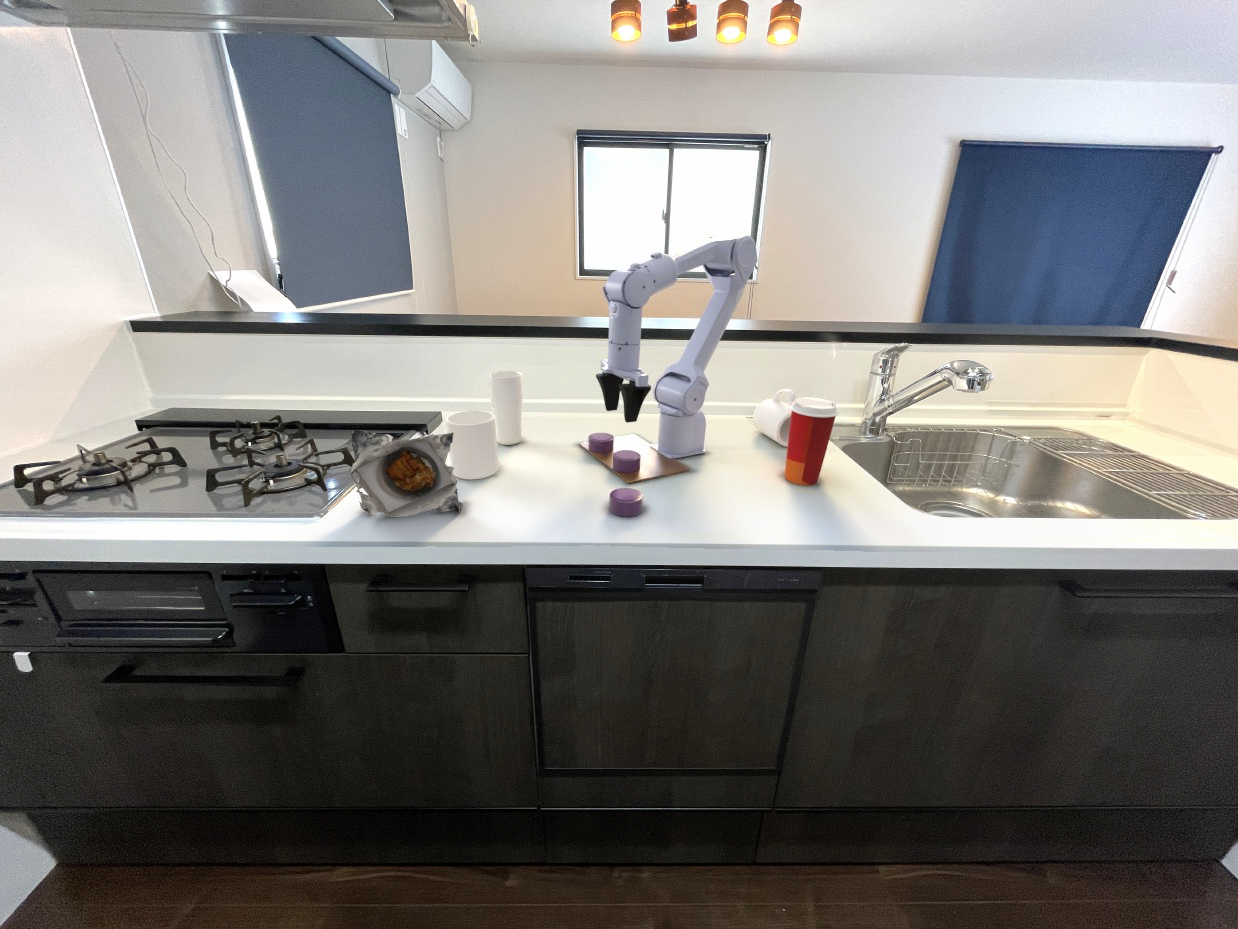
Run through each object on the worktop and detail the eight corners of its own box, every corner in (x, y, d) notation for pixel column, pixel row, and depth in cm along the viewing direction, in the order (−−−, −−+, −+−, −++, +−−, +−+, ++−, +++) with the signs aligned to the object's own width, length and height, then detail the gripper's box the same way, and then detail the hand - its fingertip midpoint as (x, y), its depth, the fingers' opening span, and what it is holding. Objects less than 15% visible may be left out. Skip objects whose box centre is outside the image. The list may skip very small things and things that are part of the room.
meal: (463, 502, 82) (455, 427, 76) (459, 515, 78) (450, 437, 73) (368, 506, 80) (352, 429, 74) (358, 519, 76) (342, 439, 71)
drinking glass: (518, 448, 104) (514, 378, 98) (488, 445, 105) (482, 376, 100) (529, 437, 110) (526, 371, 104) (501, 434, 112) (496, 369, 106)
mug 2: (780, 430, 119) (788, 382, 115) (806, 445, 110) (816, 393, 105) (750, 433, 117) (757, 383, 112) (774, 448, 108) (782, 395, 103)
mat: (634, 435, 114) (634, 433, 113) (690, 470, 96) (690, 468, 96) (578, 444, 107) (578, 442, 107) (628, 484, 90) (628, 482, 90)
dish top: (606, 442, 108) (606, 430, 107) (618, 450, 103) (618, 438, 102) (584, 446, 105) (584, 434, 104) (595, 454, 101) (595, 442, 100)
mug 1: (497, 454, 101) (493, 404, 97) (499, 478, 90) (495, 423, 86) (454, 457, 99) (448, 406, 95) (450, 482, 88) (443, 426, 84)
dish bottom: (631, 498, 84) (632, 484, 83) (648, 512, 80) (649, 497, 79) (603, 505, 82) (603, 490, 81) (619, 519, 78) (619, 504, 77)
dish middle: (631, 460, 99) (632, 447, 98) (645, 470, 95) (646, 457, 94) (607, 464, 97) (608, 451, 96) (620, 475, 92) (621, 461, 91)
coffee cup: (823, 473, 96) (838, 399, 90) (824, 491, 89) (841, 411, 83) (778, 467, 99) (790, 394, 93) (776, 483, 92) (789, 405, 86)
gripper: (586, 337, 92) (585, 407, 97) (624, 350, 80) (620, 429, 85) (619, 336, 95) (616, 404, 100) (660, 348, 83) (655, 425, 89)
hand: (620, 415), depth 93 cm, fingers open, 7 cm apart
